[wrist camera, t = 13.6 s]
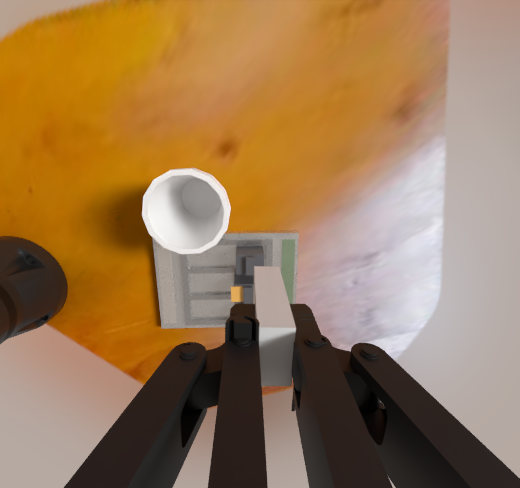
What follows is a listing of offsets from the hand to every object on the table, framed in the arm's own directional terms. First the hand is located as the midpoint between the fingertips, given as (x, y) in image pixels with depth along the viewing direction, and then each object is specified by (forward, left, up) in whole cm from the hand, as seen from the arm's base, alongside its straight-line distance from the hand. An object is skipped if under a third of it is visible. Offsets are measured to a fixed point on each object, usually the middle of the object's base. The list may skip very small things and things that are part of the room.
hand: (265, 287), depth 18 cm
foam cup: (-8, +2, -29) cm, 30 cm away
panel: (-4, -12, -29) cm, 32 cm away
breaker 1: (-1, -7, -27) cm, 28 cm away
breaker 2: (-1, -12, -27) cm, 30 cm away
